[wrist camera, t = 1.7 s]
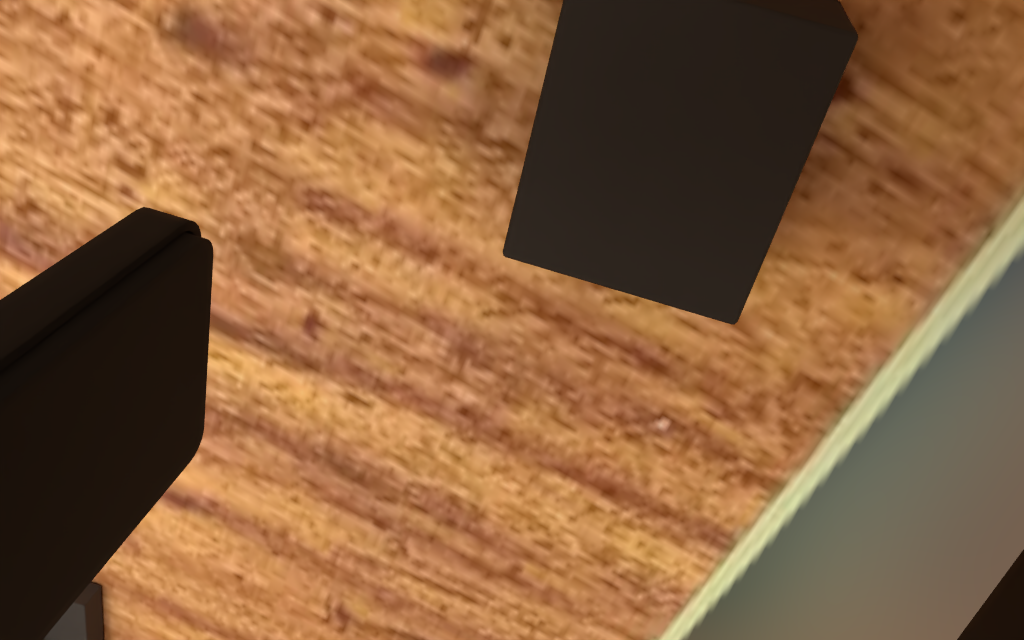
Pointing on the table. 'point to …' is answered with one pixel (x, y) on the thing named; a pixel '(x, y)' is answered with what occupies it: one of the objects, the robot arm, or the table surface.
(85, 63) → the table surface
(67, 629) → the pad base
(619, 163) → the loose pad
